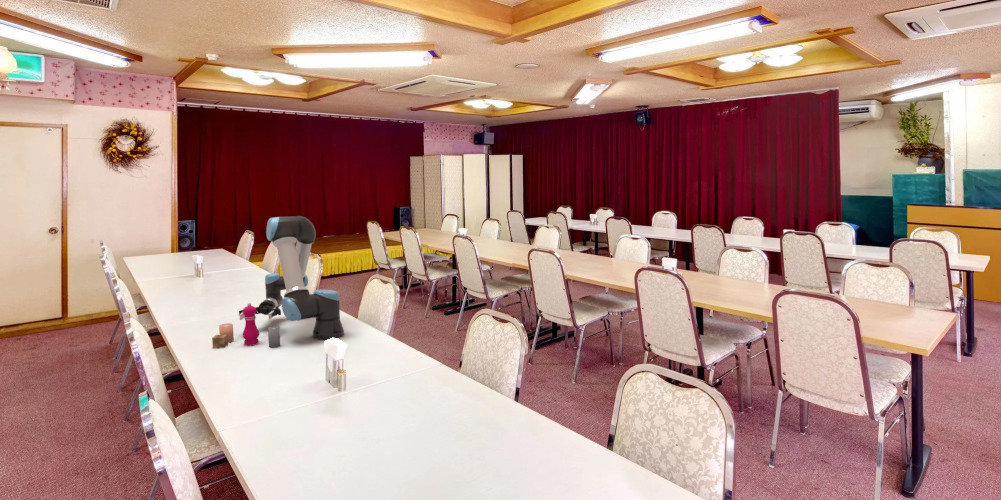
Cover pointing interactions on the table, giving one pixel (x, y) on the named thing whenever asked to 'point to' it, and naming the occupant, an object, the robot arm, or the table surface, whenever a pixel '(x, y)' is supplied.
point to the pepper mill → (250, 326)
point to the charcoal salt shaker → (274, 336)
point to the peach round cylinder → (227, 331)
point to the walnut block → (220, 341)
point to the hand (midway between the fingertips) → (254, 317)
